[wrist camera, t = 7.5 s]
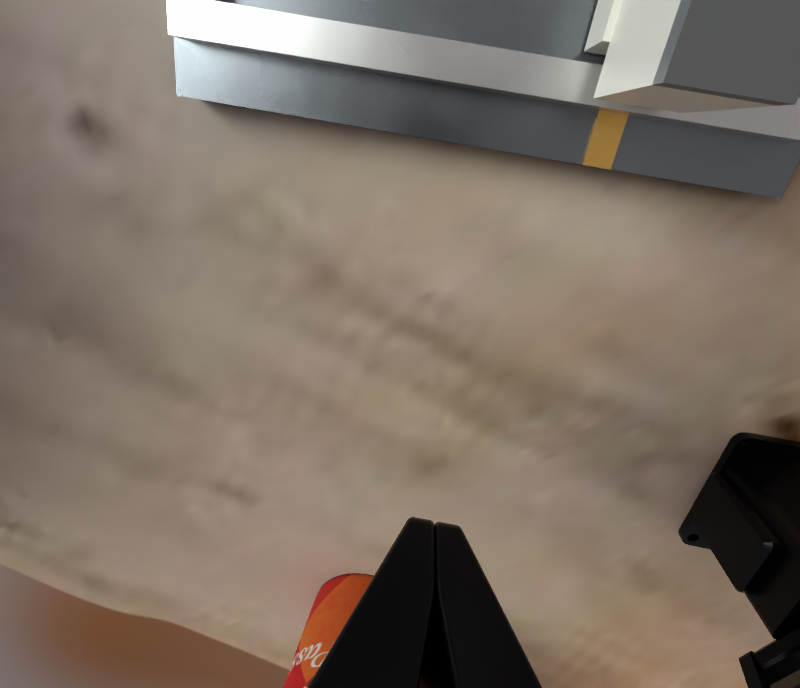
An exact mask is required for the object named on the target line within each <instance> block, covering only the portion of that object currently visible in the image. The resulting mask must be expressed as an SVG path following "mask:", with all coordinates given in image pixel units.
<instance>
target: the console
mask: <svg viewBox="0 0 800 688" xmlns="http://www.w3.org/2000/svg"><path fill="white" fill-rule="evenodd" d="M166 2H167V20H168V34H169V35H172V36H174V53H175V73H176V93H177V96H182V97H188V98H194V99H200V100H206V101H211V102H217V103H223V104H229V105H235V106H241V107H247V108H253V109H258V110H264V111H270V112H276V113H282V114H288V115H294V116H299V117H305V118H311V119H317V120H323V121H329V122H335V123H340V124H346V125H352V126H358V127H364V128H370V129H376V130H381V131H387V132H393V133H399V134H405V135H411V136H417V137H423V138H428V139H434V140H440V141H446V142H452V143H458V144H464V145H469V146H475V147H481V148H487V149H493V150H499V151H505V152H510V153H516V154H522V155H528V156H534V157H540V158H546V159H552V160H557V161H563V162H569V163H575V164H581V165H586V166H592V167H598V168H604V169H610V170H616V171H622V172H628V173H634V174H639V175H645V176H651V177H657V178H663V179H669V180H675V181H680V182H686V183H692V184H698V185H704V186H710V187H716V188H722V189H727V190H733V191H739V192H745V193H751V194H757V195H763V196H768V197H774V198H780V199H781V198H782V196H783V194H784V192H785V190H786V188H787V186H788V184H789V182H790V180H791V178H792V176H793V174H794V171H795V169H796V167H797V165H798V163H799V161H800V95H799V97H798V100H797V102H796V104H795V105H781V106H768V107H755V108H742V109H729V110H716V111H703V112H690V113H678V112H672V111H666V110H660V109H654V108H648V107H642V106H636V105H630V104H624V103H618V102H612V101H606V100H600V99H594V94H595V91H596V87H597V84H598V81H599V77H600V74H601V71H602V67H603V64H604V60H605V57H606V55H602V54H596V53H590V52H584V49H585V46H586V42H587V39H588V35H589V31H590V28H591V24H592V20H593V17H594V13H595V10H596V6H597V2H598V0H166Z"/></svg>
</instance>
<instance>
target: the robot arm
mask: <svg viewBox="0 0 800 688" xmlns="http://www.w3.org/2000/svg"><path fill="white" fill-rule="evenodd" d="M745 443H747V444H746V445H745V446H742V445H743V444H745ZM678 533H679V536H680V537H681V539H682V541H683V542H684V543H685V544H688V545H692V546H697V547H702V548H708V549H711V550H712V552H713V554H714V555H715V557H716V558H717V560H718V562H719V563H720V565H721V566H722V568H723V570H724V571H725V573H726V574H727V576H728V578H729V579H730V581H731V582H732V584H733V586H734V587H735V589H736V590H737V591H739V592H743V593H745V594H746V596H747V598H748V599H749V601H750V602H751V604H752V605H753V607H754V609H755V610H756V612H757V613H758V615H759V616H760V618H761V620H762V621H763V623H764V624H765V626H766V627H767V629H768V630H769V632H770V634H771V635H772V637H773V638H774V639H776V640H775V641H773V642H772V643H770V644H768V645H766V646H765V647H763V648H761V649H760V650H758V651H756V652H752V651H750V652H748V653H747V654H745V655H743V656H742V657H740V658H739V661H740V664H741V667H742V670H743V673H744V676H745V679H746V683H747V686H748V688H800V442H795V441H790V440H784V439H779V438H773V437H768V436H762V435H757V434H751V433H739V434H736V435H735V436H733V437H732V438H731V440H730V441H729V443H728V445H727V446H726V448H725V450H724V452H723V453H722V455H721V457H720V459H719V460H718V462H717V464H716V466H715V467H714V469H713V471H712V473H711V474H710V476H709V478H708V480H707V481H706V483H705V485H704V487H703V488H702V490H701V492H700V494H699V495H698V497H697V499H696V501H695V502H694V504H693V506H692V508H691V509H690V511H689V513H688V515H687V516H686V518H685V520H684V522H683V523H682V525H681V527H680V529H679V532H678ZM307 688H542V687H541V685H540V683H539V681H538V679H537V677H536V675H535V673H534V671H533V669H532V667H531V665H530V663H529V661H528V659H527V657H526V655H525V653H524V651H523V649H522V647H521V645H520V643H519V641H518V639H517V637H516V635H515V633H514V631H513V629H512V627H511V625H510V623H509V622H508V620H507V618H506V616H505V614H504V612H503V610H502V608H501V606H500V604H499V602H498V600H497V598H496V596H495V594H494V592H493V590H492V588H491V586H490V584H489V582H488V580H487V578H486V576H485V574H484V572H483V570H482V568H481V566H480V564H479V562H478V560H477V558H476V556H475V554H474V552H473V550H472V548H471V546H470V545H469V543H468V541H467V539H466V537H465V535H464V533H463V531H462V529H461V528H460V527H459V526H457V525H452V524H447V523H442V522H437V523H435V525H434V523H433V522H432V521H431V520H426V519H421V518H415V517H411V518H409V519H408V520H407V522H406V524H405V525H404V527H403V529H402V530H401V532H400V534H399V535H398V537H397V539H396V540H395V542H394V544H393V545H392V547H391V549H390V550H389V552H388V554H387V555H386V557H385V559H384V560H383V562H382V564H381V565H380V567H379V569H378V570H377V572H376V574H375V575H374V577H373V579H372V580H371V582H370V584H369V585H368V587H367V589H366V590H365V592H364V594H363V595H362V597H361V599H360V600H359V602H358V604H357V605H356V607H355V609H354V610H353V612H352V614H351V615H350V617H349V619H348V620H347V622H346V624H345V625H344V627H343V629H342V630H341V632H340V634H339V635H338V637H337V639H336V640H335V642H334V644H333V645H332V647H331V649H330V650H329V652H328V654H327V655H326V657H325V659H324V660H323V662H322V664H321V665H320V667H319V669H318V670H317V672H316V674H315V676H314V677H313V679H312V681H311V682H310V684H309V686H308V687H307Z"/></svg>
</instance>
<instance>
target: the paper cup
mask: <svg viewBox="0 0 800 688" xmlns="http://www.w3.org/2000/svg"><path fill="white" fill-rule="evenodd" d="M373 577H374V576H371V575H366V574H345V575H340V576H337V577H334V578H332V579H330V580H329V581H327V582H326V583H325V584H324V585H323V586H322V587H321V589H320V590H319V592H318V594H317V597H316V599H315V601H314V604H313V607H312V609H311V612H310V615H309V617H308V620H307V623H306V625H305V628H304V631H303V634H302V636H301V639H300V642H299V645H298V647H297V650H296V653H295V656H294V659H293V661H292V664H291V667H290V670H289V673H288V676H287V678H286V681H285V684H284V687H283V688H307V687H308V686H309V684H310V682H311V681H312V679H313V677H314V676H315V674H316V672H317V670H318V669H319V667H320V665H321V664H322V662H323V660H324V659H325V657H326V655H327V654H328V652H329V650H330V649H331V647H332V645H333V644H334V642H335V640H336V639H337V637H338V635H339V634H340V632H341V630H342V629H343V627H344V625H345V624H346V622H347V620H348V619H349V617H350V615H351V614H352V612H353V610H354V609H355V607H356V605H357V604H358V602H359V600H360V599H361V597H362V595H363V594H364V592H365V590H366V589H367V587H368V585H369V584H370V582H371V580H372V579H373Z"/></svg>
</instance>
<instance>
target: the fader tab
mask: <svg viewBox="0 0 800 688" xmlns="http://www.w3.org/2000/svg"><path fill="white" fill-rule="evenodd" d="M584 52H590V53H596V54H602V55H606V57H605V60H604V64H603V67H602V71H601V74H600V77H599V81H598V84H597V87H596V91H595V94H594V99H600V100H606V101H612V102H618V103H624V104H630V105H636V106H642V107H648V108H654V109H660V110H666V111H672V112H678V113H690V112H703V111H716V110H729V109H742V108H755V107H768V106H781V105H795V104H796V102H797V100H798V97H799V95H800V0H598V2H597V6H596V10H595V13H594V17H593V20H592V24H591V28H590V31H589V35H588V39H587V42H586V46H585V49H584Z"/></svg>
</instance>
